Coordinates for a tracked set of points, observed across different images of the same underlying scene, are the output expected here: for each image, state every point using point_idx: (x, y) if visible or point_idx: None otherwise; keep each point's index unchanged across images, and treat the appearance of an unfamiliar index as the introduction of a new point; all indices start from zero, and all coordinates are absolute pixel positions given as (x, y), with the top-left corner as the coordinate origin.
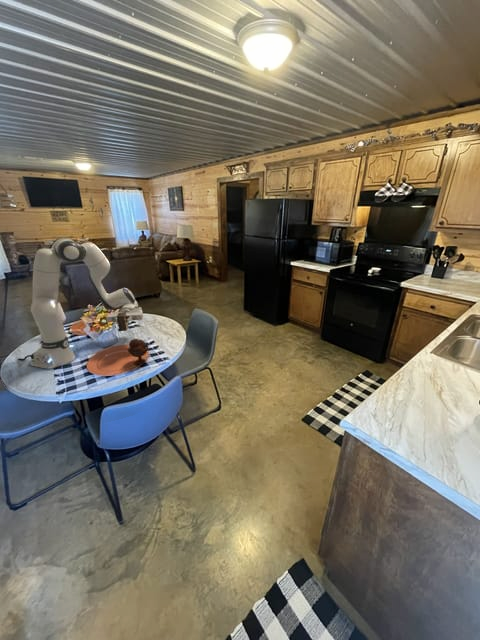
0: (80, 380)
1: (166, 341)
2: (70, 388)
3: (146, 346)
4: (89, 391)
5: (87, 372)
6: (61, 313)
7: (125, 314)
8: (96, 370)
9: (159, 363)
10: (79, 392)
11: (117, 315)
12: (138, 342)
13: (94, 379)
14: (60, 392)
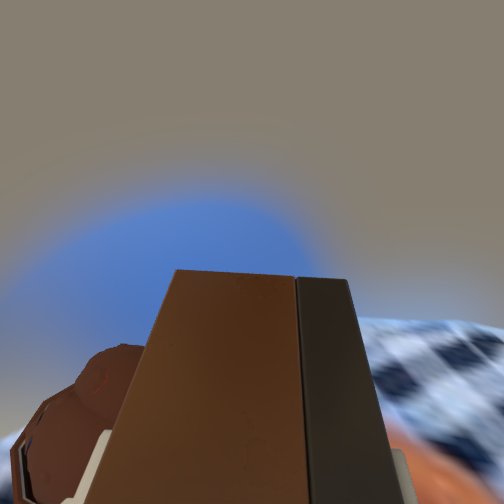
0: (462, 399)
1: None
2: (463, 354)
3: (28, 476)
4: (361, 323)
5: (483, 470)
6: None
7: (132, 396)
8: (434, 481)
9: (6, 467)
10: (401, 326)
11: (351, 322)
12: (94, 356)
13: (388, 392)
14: (486, 340)
